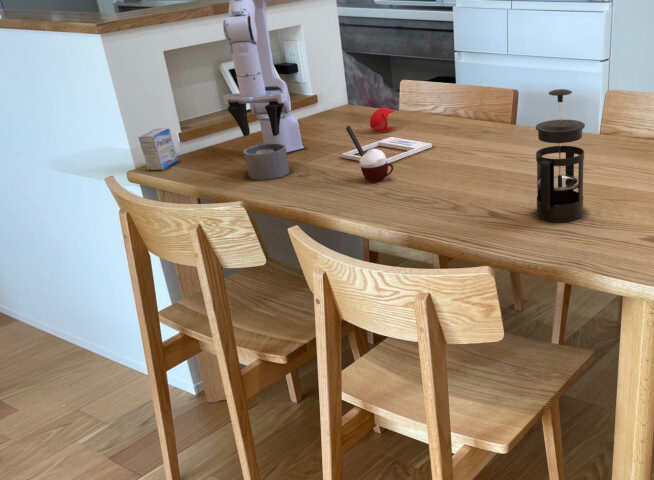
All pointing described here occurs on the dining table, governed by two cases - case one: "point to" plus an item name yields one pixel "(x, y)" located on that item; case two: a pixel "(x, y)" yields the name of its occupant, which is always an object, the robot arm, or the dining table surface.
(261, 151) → the coffee pod
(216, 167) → the dining table surface
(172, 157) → the medicine box
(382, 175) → the cocoa
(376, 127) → the cap
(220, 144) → the dining table surface
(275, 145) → the bucket
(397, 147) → the photo frame
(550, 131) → the french press
